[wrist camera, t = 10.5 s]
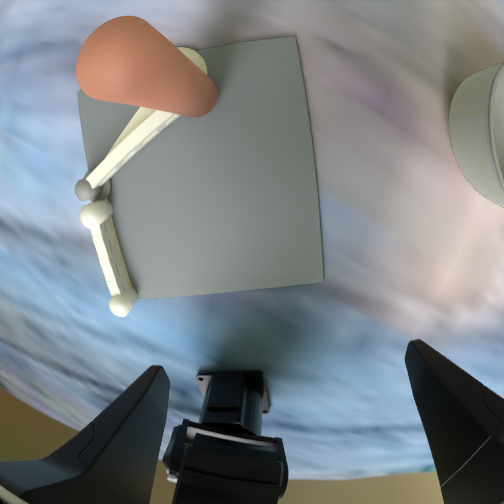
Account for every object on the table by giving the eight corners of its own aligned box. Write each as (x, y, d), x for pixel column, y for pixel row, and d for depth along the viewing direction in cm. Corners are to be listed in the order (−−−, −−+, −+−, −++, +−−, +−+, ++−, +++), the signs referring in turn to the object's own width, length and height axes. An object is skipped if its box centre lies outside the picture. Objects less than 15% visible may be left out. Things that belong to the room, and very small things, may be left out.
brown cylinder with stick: (99, 207, 20) (-5, 266, 10) (78, 177, 20) (-32, 219, 9) (226, 99, 17) (175, 54, 7) (201, 66, 16) (128, 0, 6)
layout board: (322, 279, 22) (324, 284, 22) (120, 298, 24) (116, 302, 24) (293, 30, 16) (293, 26, 15) (72, 87, 18) (67, 87, 17)
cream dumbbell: (142, 300, 24) (131, 316, 22) (125, 301, 24) (113, 317, 22) (112, 195, 21) (96, 202, 19) (94, 199, 21) (77, 207, 19)
